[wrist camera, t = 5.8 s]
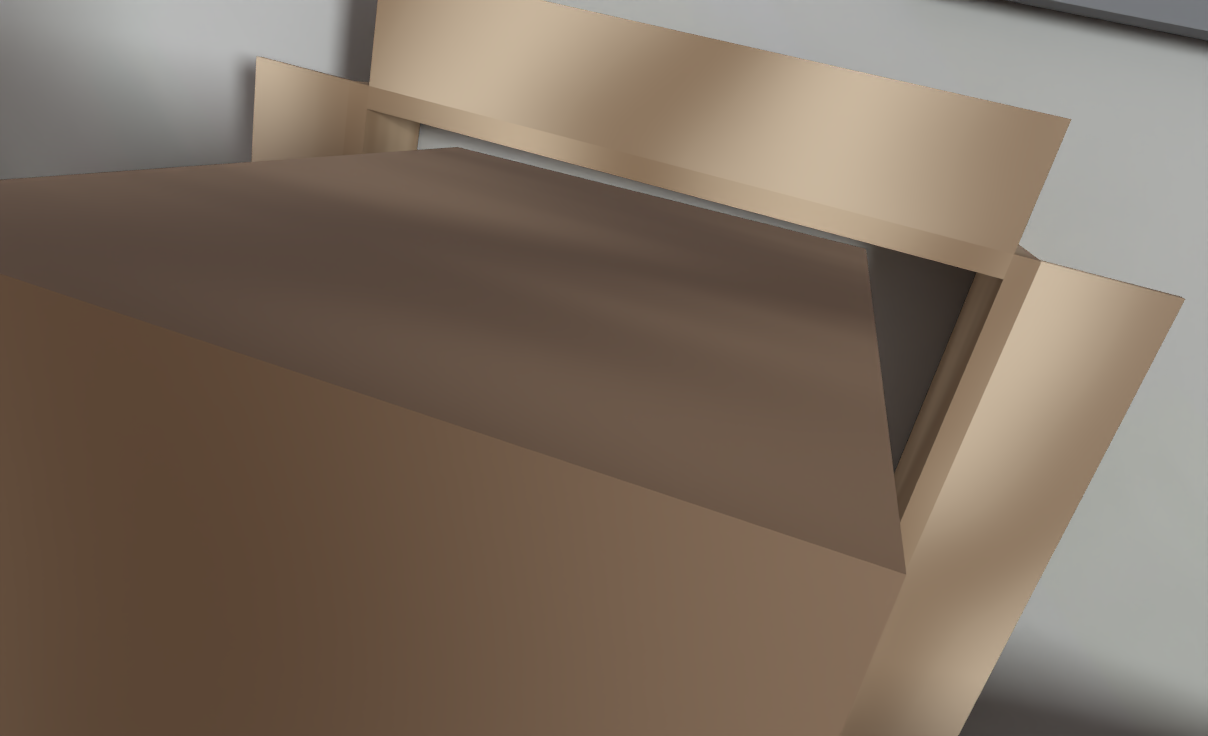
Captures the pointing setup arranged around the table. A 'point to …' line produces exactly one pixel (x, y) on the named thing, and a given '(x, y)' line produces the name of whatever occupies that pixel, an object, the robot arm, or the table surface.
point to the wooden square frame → (828, 203)
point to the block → (431, 457)
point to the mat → (1139, 13)
